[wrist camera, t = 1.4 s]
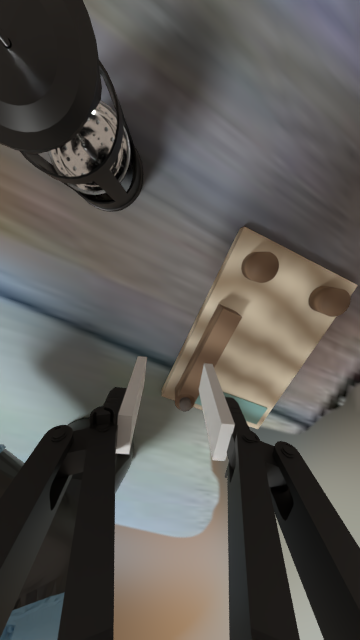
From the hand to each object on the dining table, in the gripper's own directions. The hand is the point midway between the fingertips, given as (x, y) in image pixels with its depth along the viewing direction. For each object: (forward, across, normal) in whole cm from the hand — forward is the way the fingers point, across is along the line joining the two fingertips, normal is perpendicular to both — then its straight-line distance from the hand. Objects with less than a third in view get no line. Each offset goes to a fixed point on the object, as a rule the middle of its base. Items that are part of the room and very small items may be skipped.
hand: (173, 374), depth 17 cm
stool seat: (+17, -14, +2) cm, 22 cm away
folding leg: (+14, -5, +5) cm, 16 cm away
